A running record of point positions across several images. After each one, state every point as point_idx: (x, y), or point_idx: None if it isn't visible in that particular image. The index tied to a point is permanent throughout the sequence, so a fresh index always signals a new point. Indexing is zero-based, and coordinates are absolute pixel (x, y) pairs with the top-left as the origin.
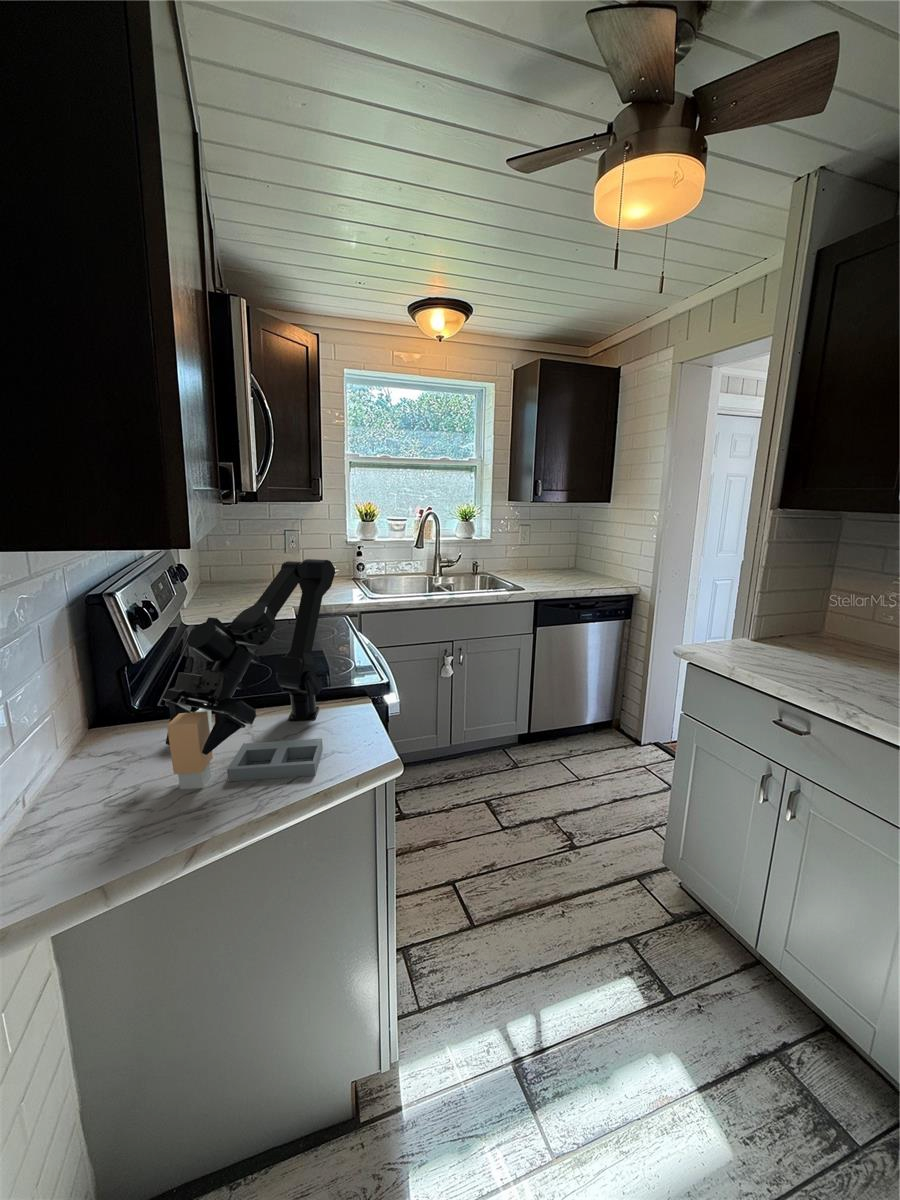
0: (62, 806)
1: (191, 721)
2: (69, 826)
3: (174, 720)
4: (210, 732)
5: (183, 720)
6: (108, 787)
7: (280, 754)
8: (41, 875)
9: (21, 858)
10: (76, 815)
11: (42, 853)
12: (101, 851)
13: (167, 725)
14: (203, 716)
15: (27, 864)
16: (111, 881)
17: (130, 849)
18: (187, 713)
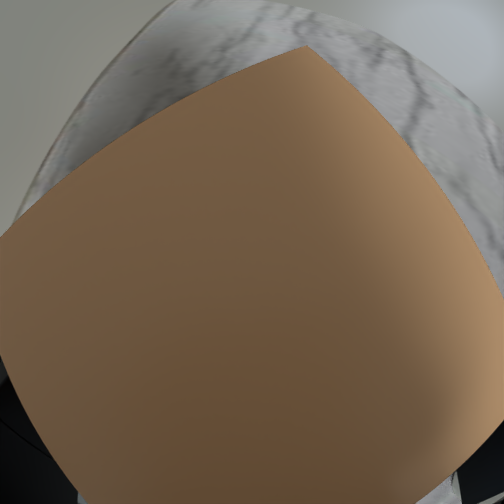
0: (442, 107)
1: (52, 282)
2: (354, 70)
3: (386, 173)
4: (456, 495)
5: (229, 249)
6: (455, 184)
7: (79, 493)
8: (242, 14)
9: (318, 18)
10: (387, 93)
11: (303, 28)
12: (207, 57)
13: (304, 51)
14: (93, 499)
15: (292, 15)
16: (123, 51)
17: (157, 81)
18: (437, 465)
